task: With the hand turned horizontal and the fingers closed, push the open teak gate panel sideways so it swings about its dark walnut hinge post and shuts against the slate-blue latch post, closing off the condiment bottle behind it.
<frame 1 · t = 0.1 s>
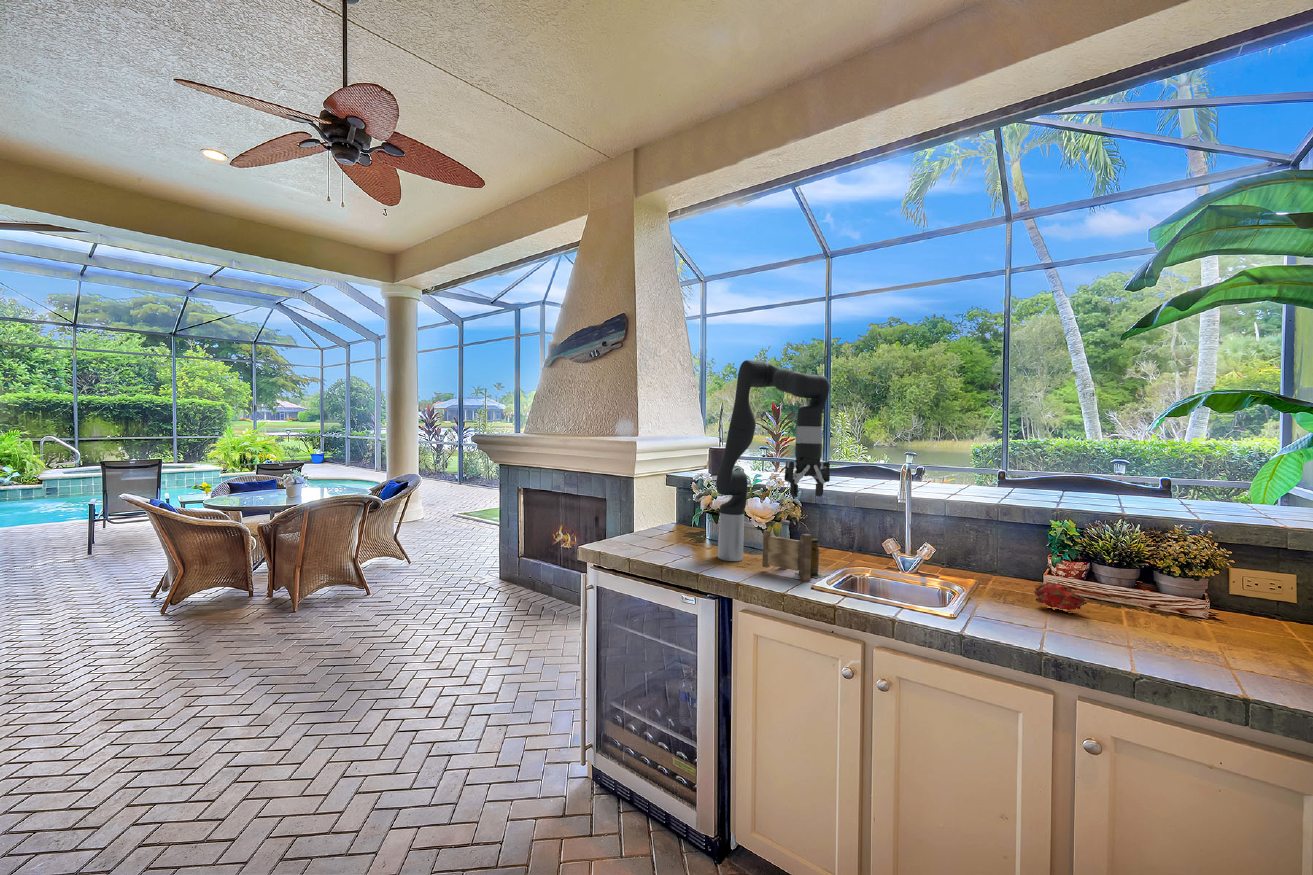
hand: (806, 496, 155), 29 cm above the worktop, tool pointing down, fingers open, 8 cm apart
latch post: (783, 568, 186), on the worktop
gate: (783, 552, 177), point 8 cm above the worktop, hinge at 30.0°
dragon fruit: (1058, 611, 149), on the worktop
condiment: (810, 574, 179), on the worktop
hinge post: (804, 580, 171), on the worktop
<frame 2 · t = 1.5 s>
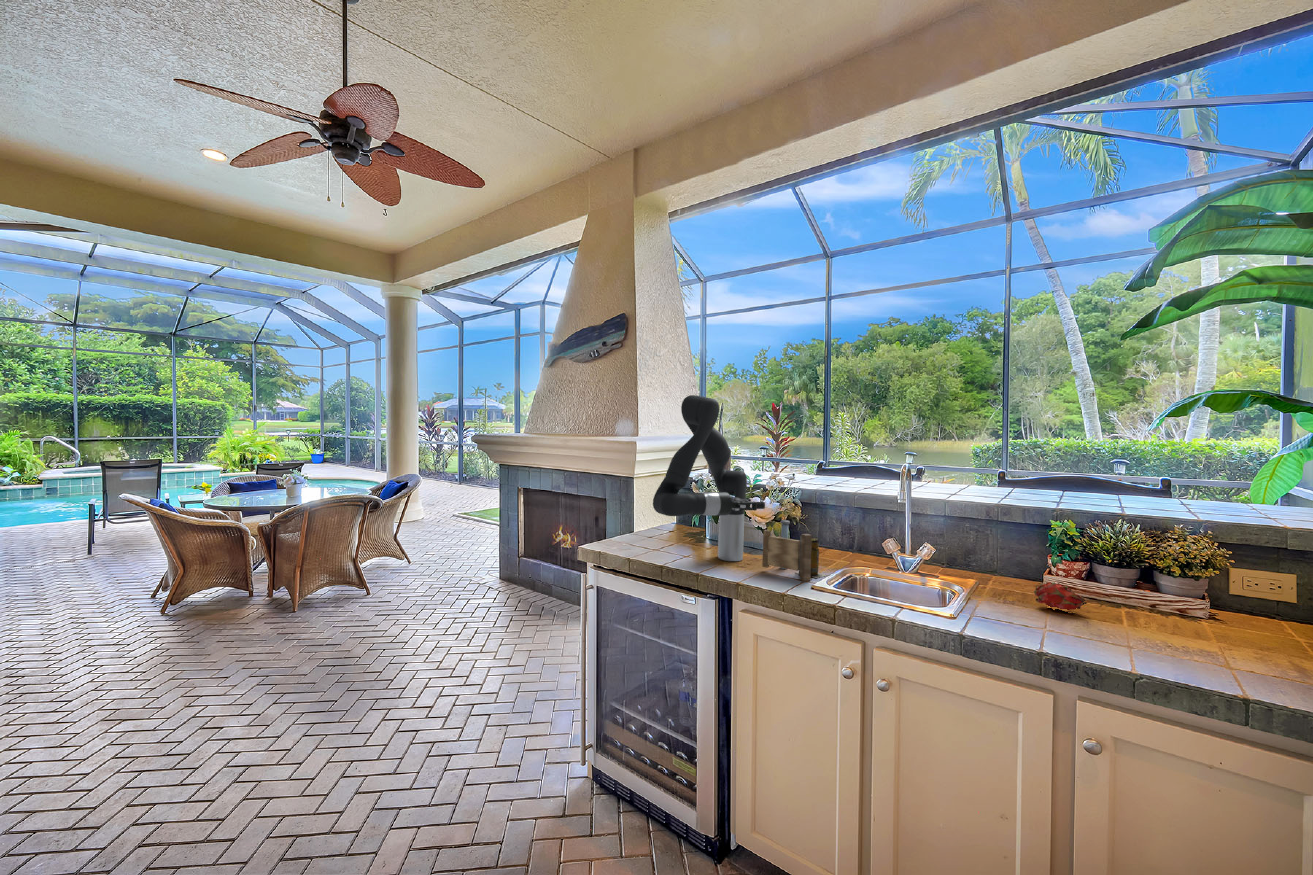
hand: (757, 503, 174), 24 cm above the worktop, tool horizontal, fingers open, 8 cm apart
nothing on the worktop moved.
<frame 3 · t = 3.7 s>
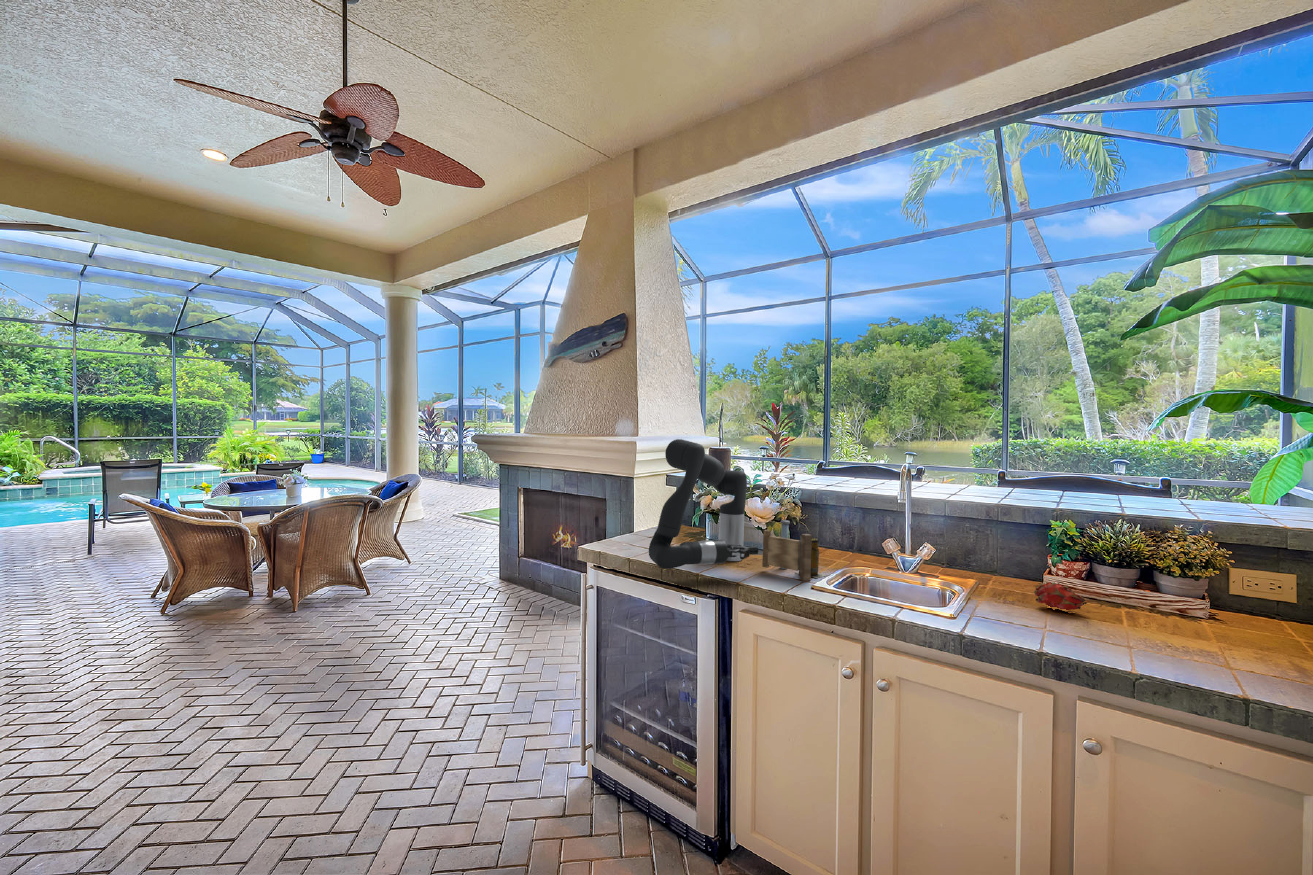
hand: (756, 550, 174), 9 cm above the worktop, tool horizontal, fingers closed
nothing on the worktop moved.
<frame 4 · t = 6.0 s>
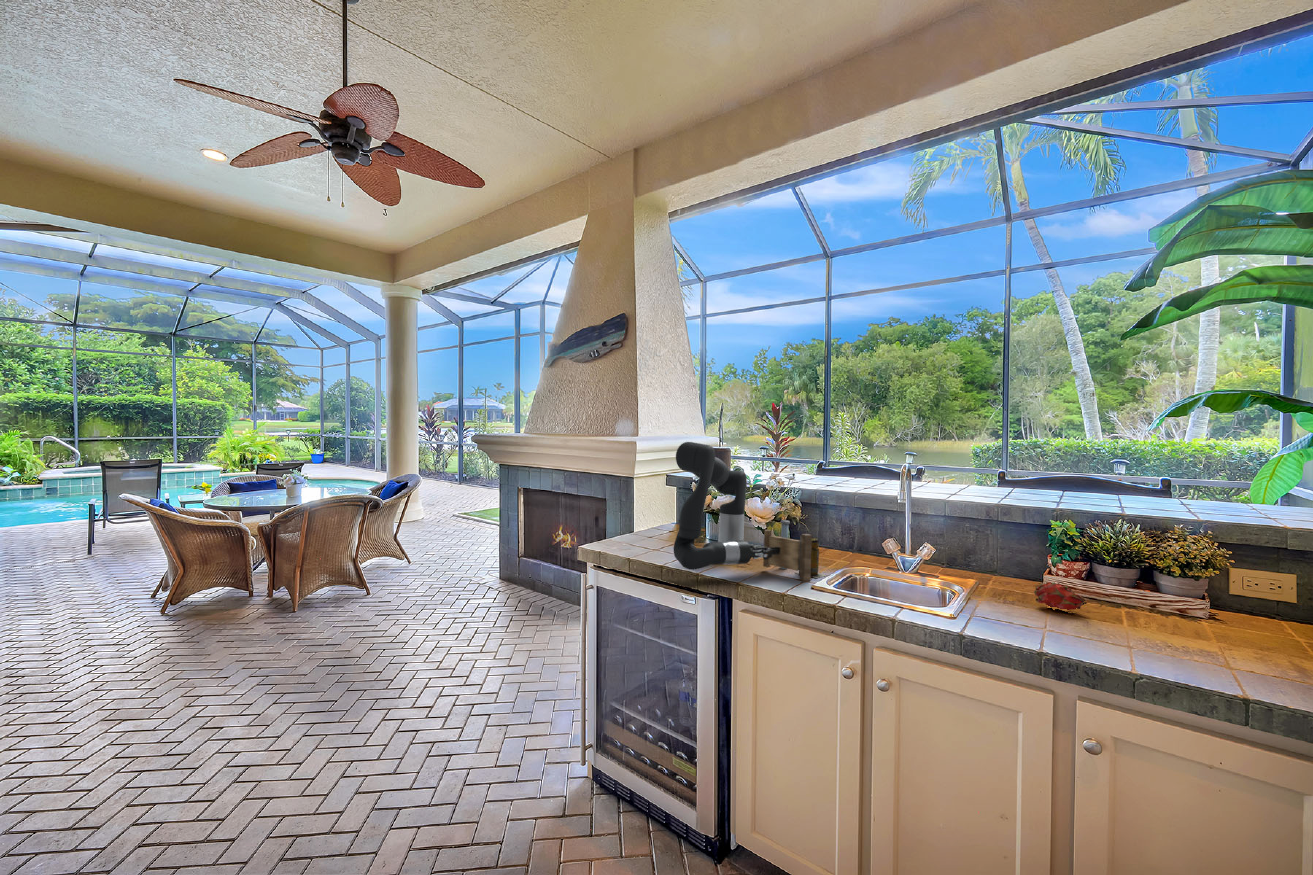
hand: (778, 550, 178), 8 cm above the worktop, tool horizontal, fingers closed
gate: (783, 552, 177), point 8 cm above the worktop, hinge at 27.0°, touching gripper
everything else where it was.
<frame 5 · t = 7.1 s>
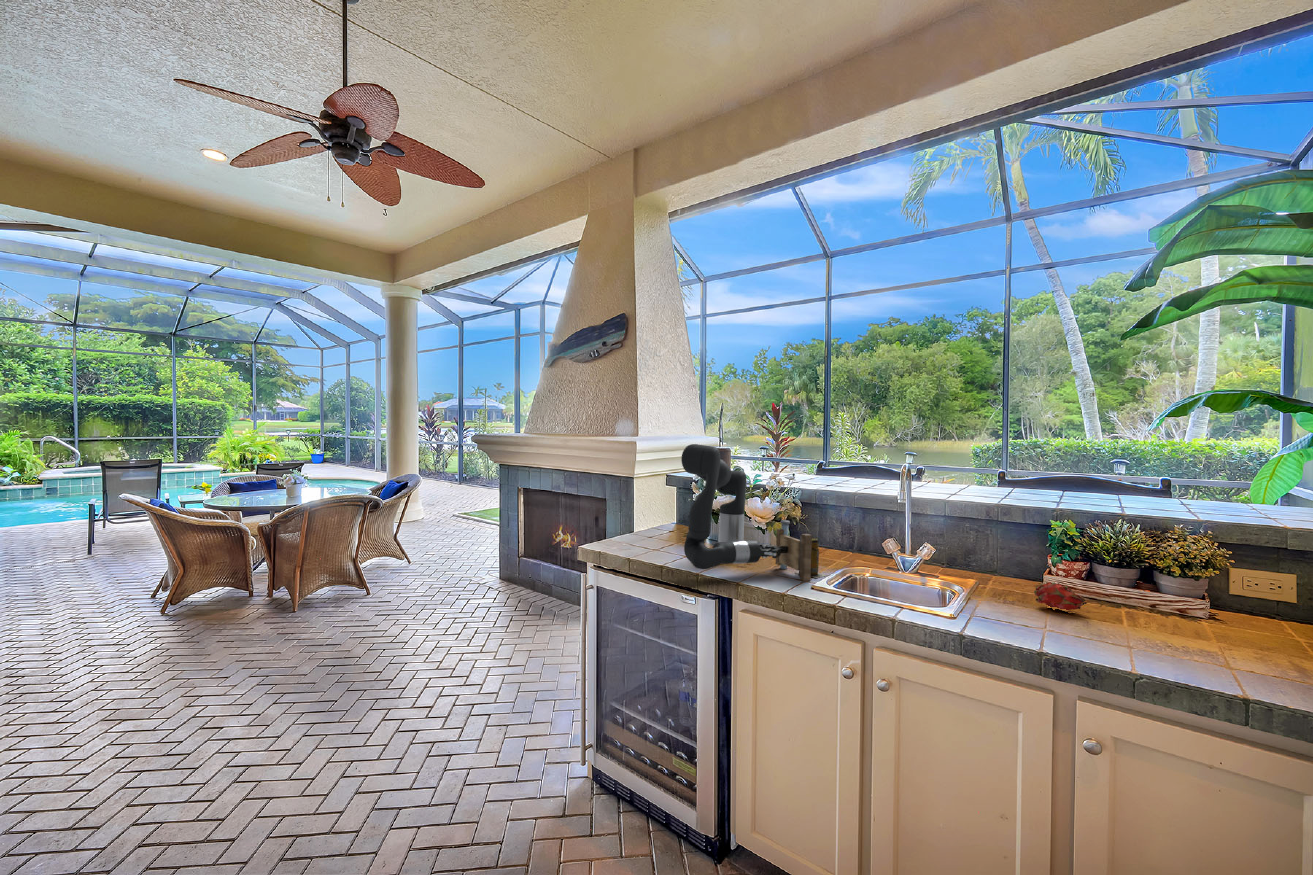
hand: (786, 549, 180), 8 cm above the worktop, tool horizontal, fingers closed
gate: (790, 551, 179), point 8 cm above the worktop, hinge at 0.0°, touching gripper, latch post
everything else where it was.
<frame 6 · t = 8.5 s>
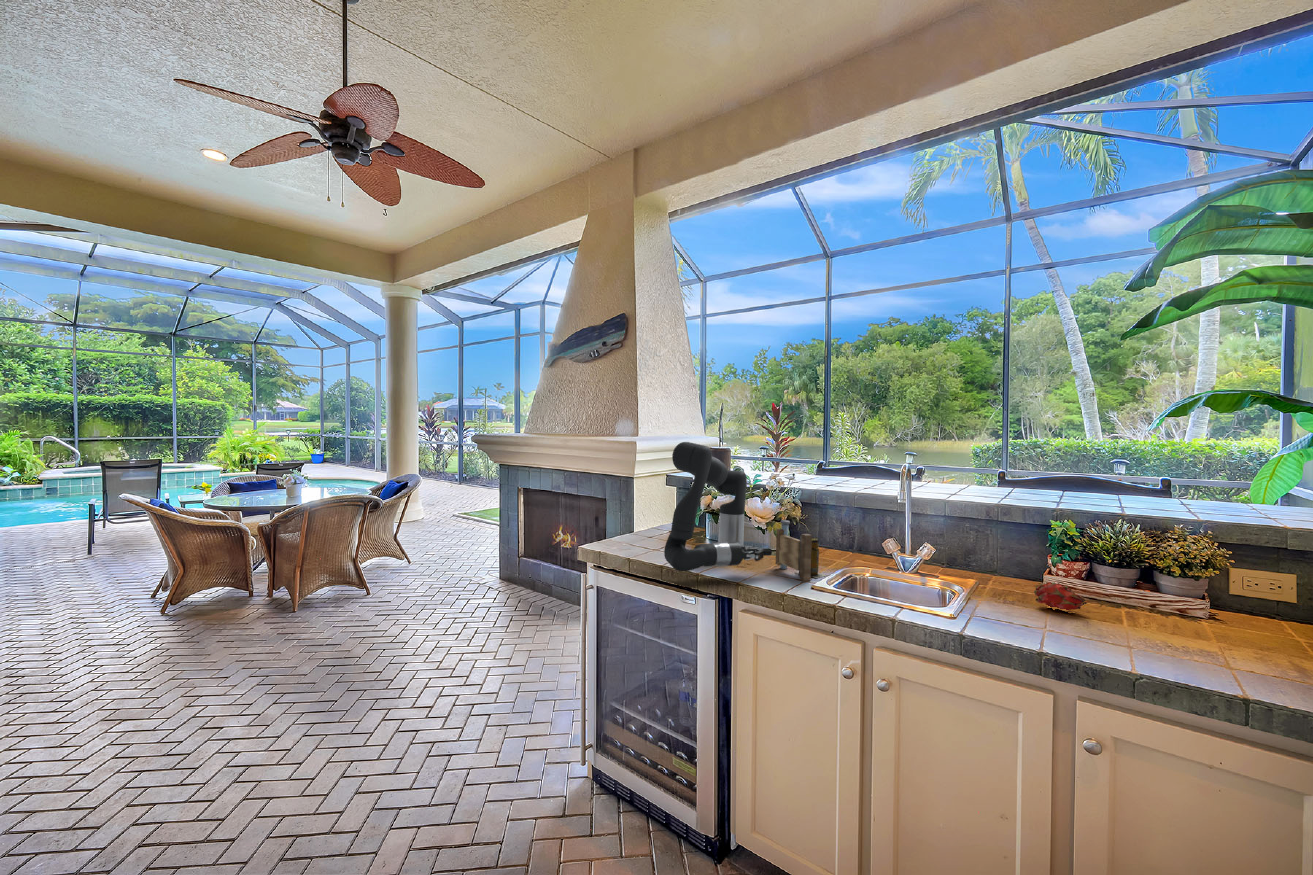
hand: (770, 551, 176), 8 cm above the worktop, tool horizontal, fingers closed
gate: (790, 551, 179), point 8 cm above the worktop, hinge at 0.0°, touching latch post
everything else where it was.
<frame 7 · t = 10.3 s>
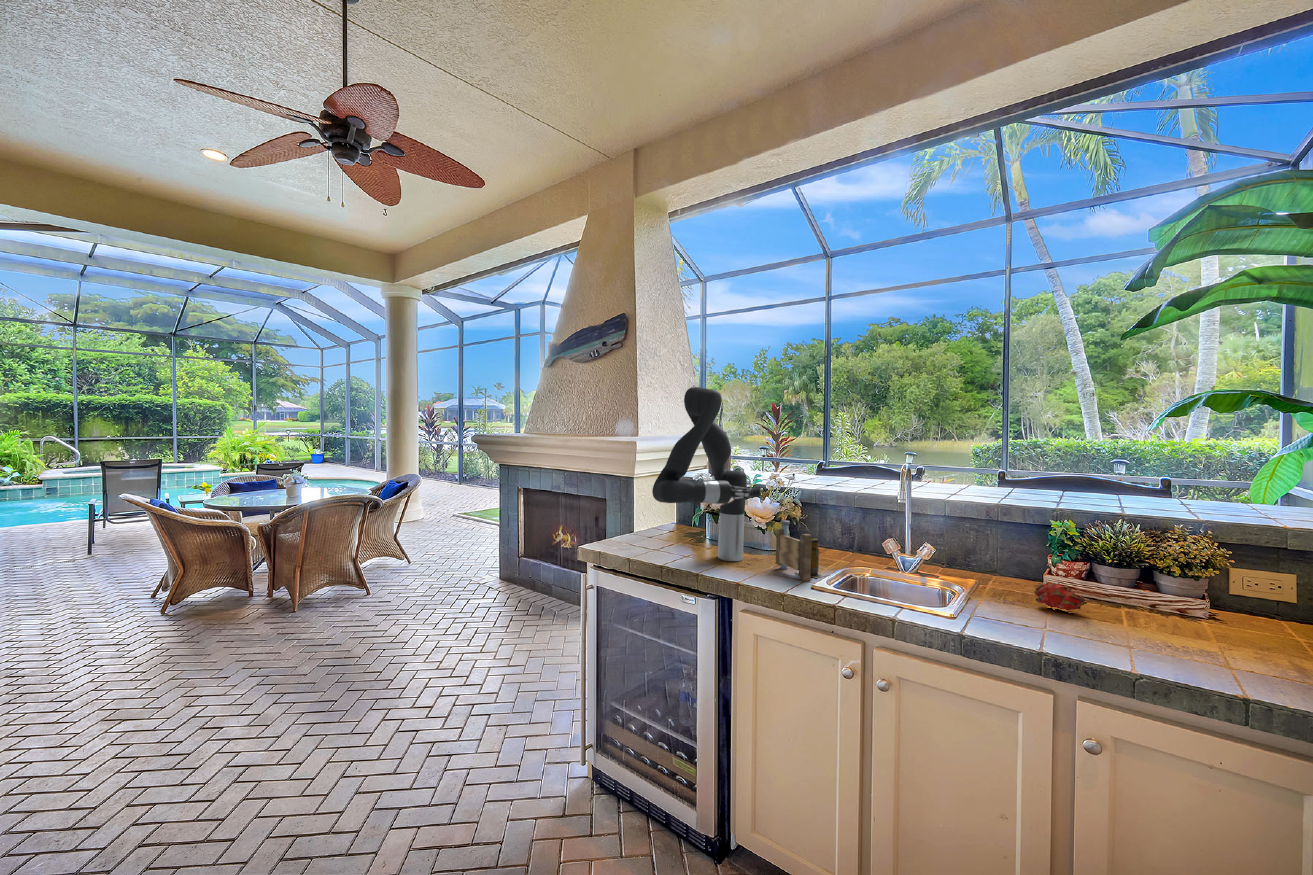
hand: (759, 492, 175), 28 cm above the worktop, tool horizontal, fingers closed
nothing on the worktop moved.
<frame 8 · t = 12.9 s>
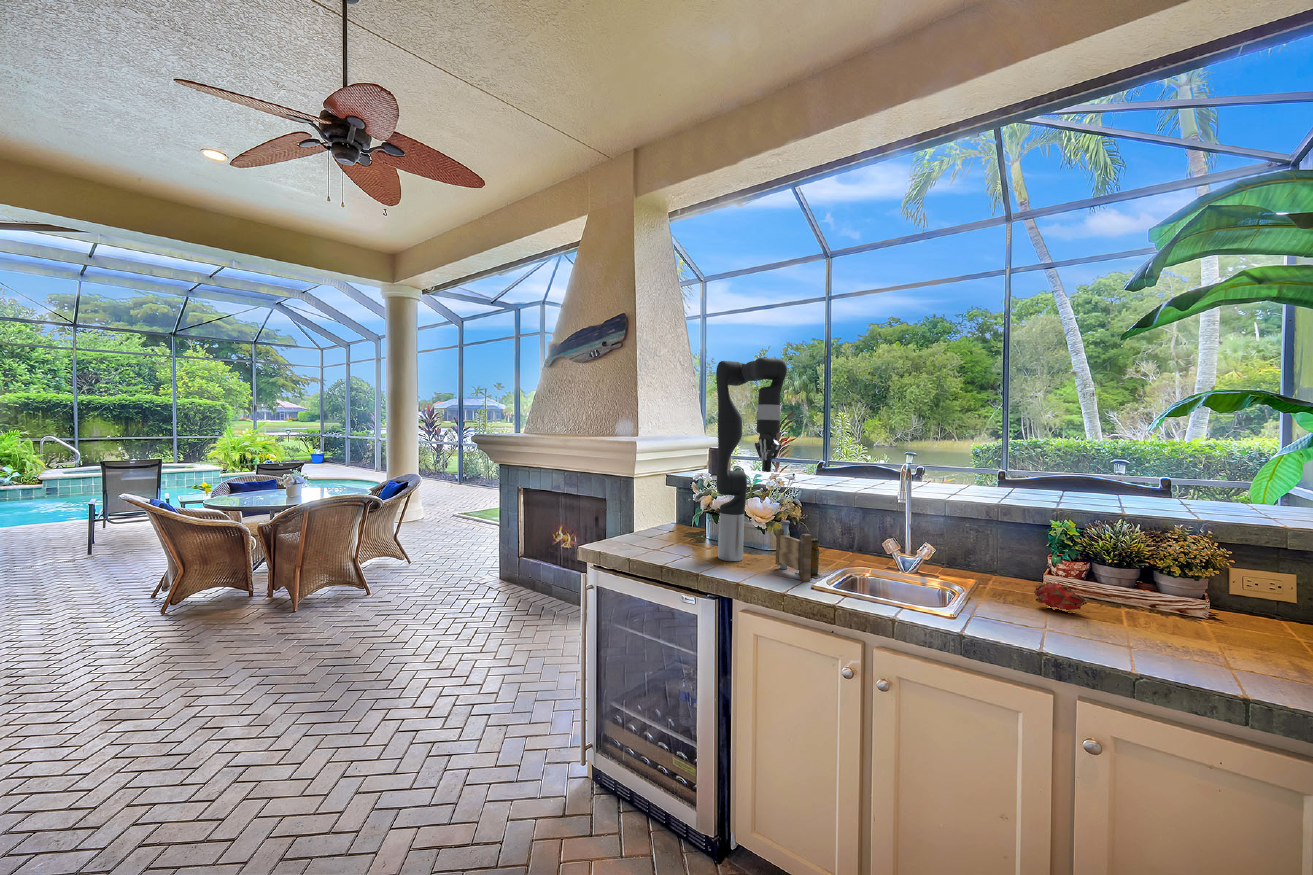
hand: (766, 471, 172), 35 cm above the worktop, tool pointing down, fingers closed
nothing on the worktop moved.
at the end: gate at +0° (first picture: +30°); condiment tilted 0° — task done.
